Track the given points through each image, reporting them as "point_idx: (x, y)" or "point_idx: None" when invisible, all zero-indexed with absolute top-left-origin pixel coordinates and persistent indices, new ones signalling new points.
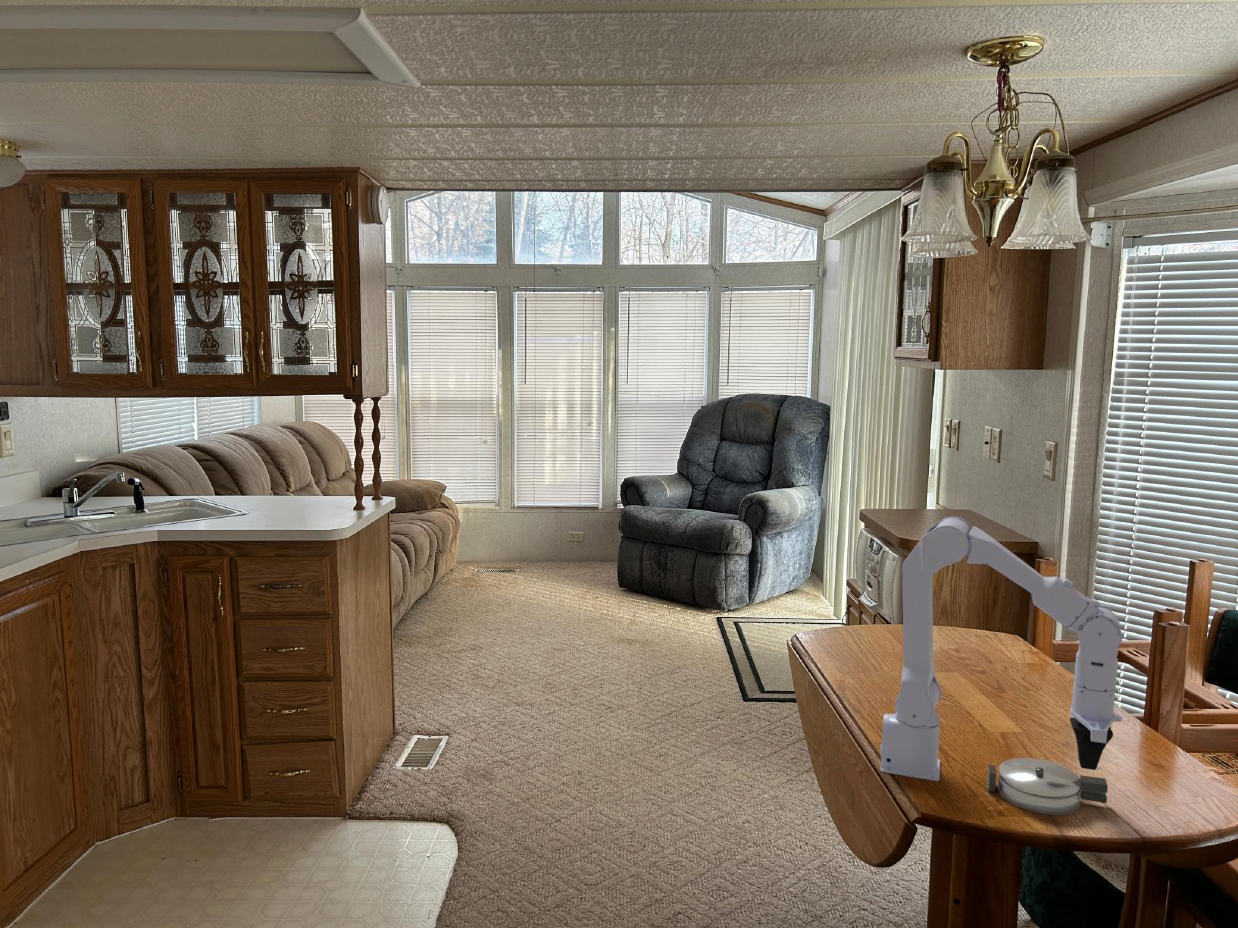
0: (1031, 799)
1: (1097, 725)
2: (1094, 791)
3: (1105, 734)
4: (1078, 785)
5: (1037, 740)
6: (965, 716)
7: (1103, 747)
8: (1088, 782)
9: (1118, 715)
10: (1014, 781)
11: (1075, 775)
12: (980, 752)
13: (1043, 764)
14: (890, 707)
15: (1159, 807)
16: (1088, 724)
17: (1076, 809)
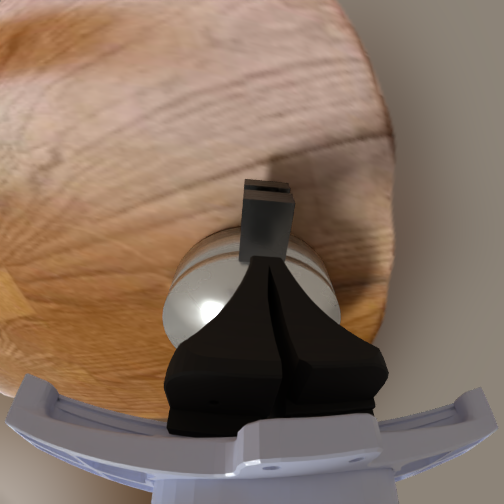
0: None
1: (447, 458)
2: None
3: (491, 419)
4: (293, 270)
5: (15, 251)
6: (19, 327)
7: (328, 318)
8: (285, 250)
9: (314, 462)
10: None
11: (228, 265)
12: (112, 341)
13: (187, 316)
14: (62, 387)
15: (218, 37)
16: (424, 469)
17: (305, 244)
